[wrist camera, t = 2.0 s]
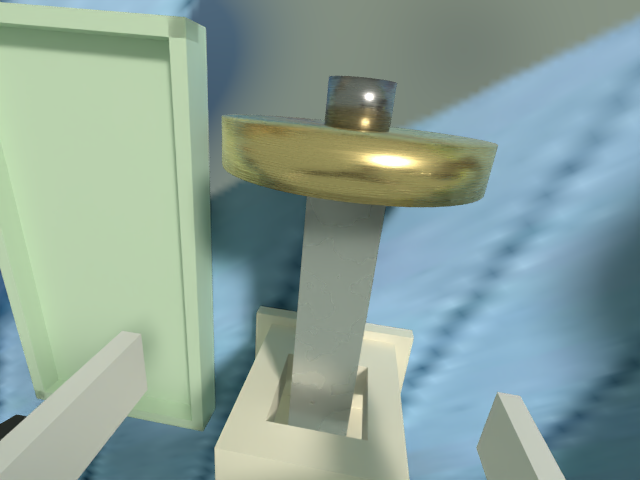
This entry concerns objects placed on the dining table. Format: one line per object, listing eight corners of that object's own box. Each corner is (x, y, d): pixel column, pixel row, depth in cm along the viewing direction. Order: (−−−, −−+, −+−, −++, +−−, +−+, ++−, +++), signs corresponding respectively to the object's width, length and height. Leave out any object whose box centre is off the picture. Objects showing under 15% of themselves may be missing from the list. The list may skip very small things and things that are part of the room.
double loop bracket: (260, 305, 27) (189, 432, 16) (412, 330, 26) (441, 482, 15) (256, 408, 31) (198, 562, 20) (387, 432, 30) (397, 609, 19)
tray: (206, 27, 21) (184, 17, 18) (215, 408, 32) (203, 431, 30) (-29, 8, 22) (-77, -4, 20) (59, 378, 33) (36, 398, 31)
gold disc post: (268, 79, 21) (154, 43, 10) (466, 98, 20) (587, 82, 9) (256, 412, 31) (194, 577, 20) (386, 437, 30) (396, 627, 19)
